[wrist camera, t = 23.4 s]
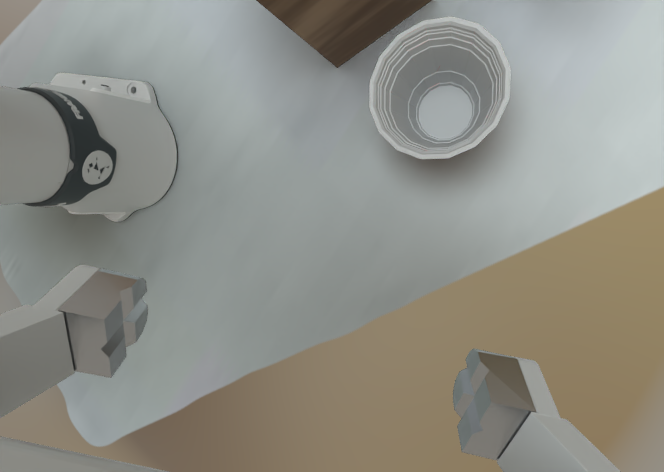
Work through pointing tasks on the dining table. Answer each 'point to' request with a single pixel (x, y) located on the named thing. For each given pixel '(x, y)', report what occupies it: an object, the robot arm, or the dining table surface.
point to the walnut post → (341, 22)
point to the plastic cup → (439, 88)
